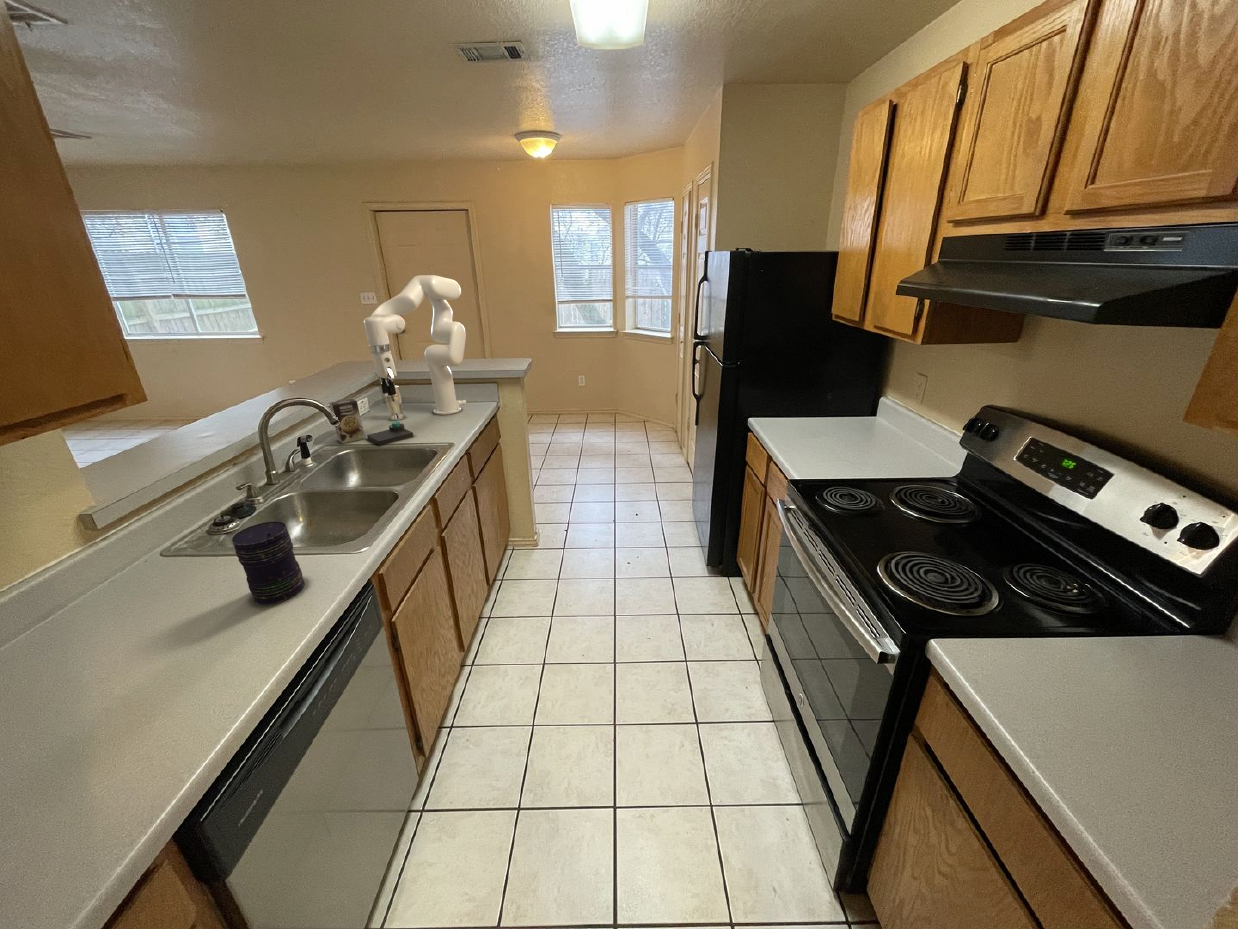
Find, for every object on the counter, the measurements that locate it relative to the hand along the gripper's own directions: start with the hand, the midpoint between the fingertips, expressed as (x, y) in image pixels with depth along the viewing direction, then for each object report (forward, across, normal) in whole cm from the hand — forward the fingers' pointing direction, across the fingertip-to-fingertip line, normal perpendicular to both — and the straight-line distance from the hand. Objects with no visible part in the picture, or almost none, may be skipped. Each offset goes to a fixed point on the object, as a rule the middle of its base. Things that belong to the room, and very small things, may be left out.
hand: (389, 393), depth 208 cm
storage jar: (+18, -90, +66) cm, 113 cm away
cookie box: (+18, +8, +16) cm, 25 cm away
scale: (+17, -4, +4) cm, 18 cm away
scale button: (+14, 0, 0) cm, 14 cm away
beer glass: (+18, +22, -10) cm, 30 cm away
